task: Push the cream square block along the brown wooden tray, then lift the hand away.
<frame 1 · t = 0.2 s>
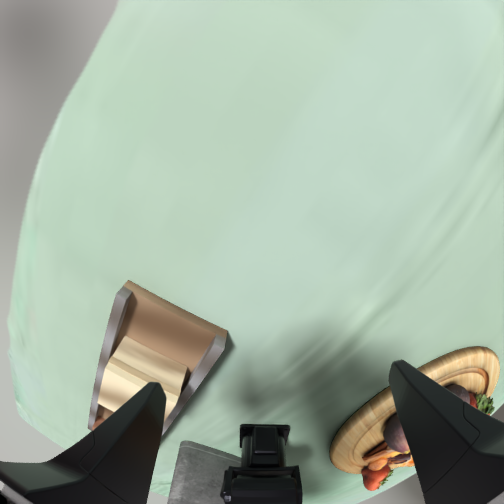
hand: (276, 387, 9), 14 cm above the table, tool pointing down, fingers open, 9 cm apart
flask: (222, 455, 35), on the table
cream square block: (140, 386, 24), point 4 cm above the table, slide at 0.0 cm
wooden plate with food: (420, 417, 33), on the table
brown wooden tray: (138, 389, 30), on the table
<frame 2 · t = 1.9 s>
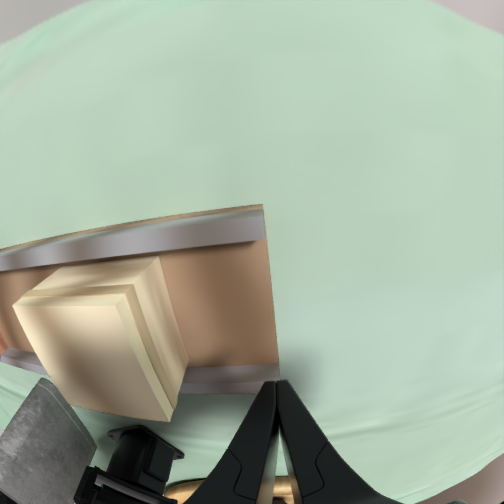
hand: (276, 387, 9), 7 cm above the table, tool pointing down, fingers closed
flask: (73, 418, 23), on the table
cream square block: (104, 339, 13), point 4 cm above the table, slide at 0.0 cm
wooden plate with food: (264, 502, 31), on the table
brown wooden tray: (65, 305, 17), on the table
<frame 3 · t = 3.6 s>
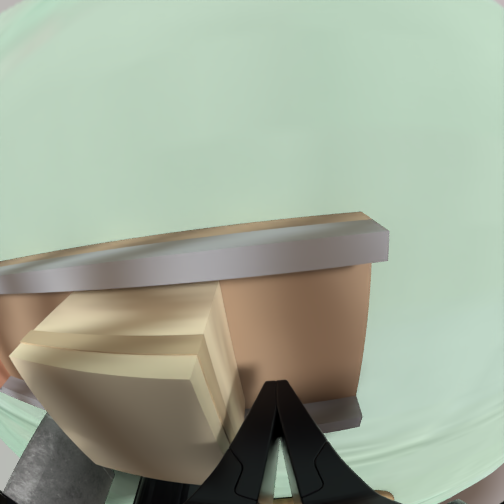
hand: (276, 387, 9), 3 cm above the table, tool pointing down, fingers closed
flask: (87, 447, 20), on the table
cream square block: (142, 392, 9), point 4 cm above the table, slide at 0.3 cm, touching gripper
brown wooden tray: (80, 336, 13), on the table
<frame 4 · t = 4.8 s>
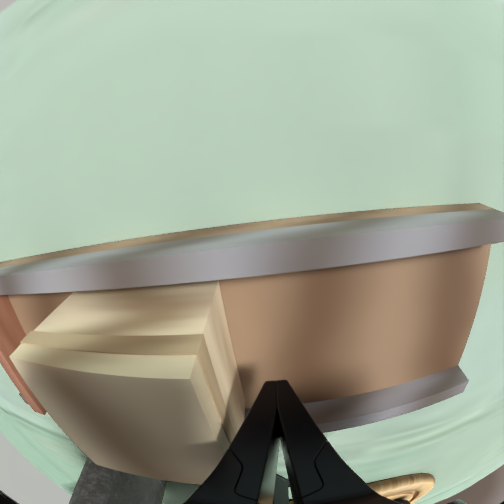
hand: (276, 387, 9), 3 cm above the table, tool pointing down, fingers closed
flask: (141, 461, 19), on the table
cream square block: (142, 392, 9), point 4 cm above the table, slide at 7.2 cm, touching gripper
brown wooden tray: (188, 337, 13), on the table
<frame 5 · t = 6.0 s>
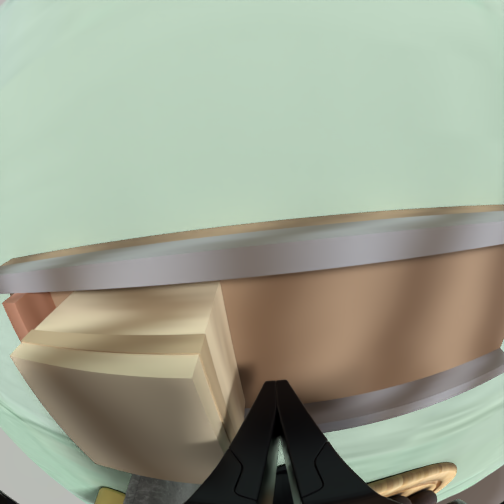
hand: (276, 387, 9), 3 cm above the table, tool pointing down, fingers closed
flask: (181, 467, 19), on the table
cream square block: (143, 392, 9), point 4 cm above the table, slide at 11.5 cm, touching gripper
tree log: (120, 494, 26), on the table
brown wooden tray: (279, 331, 13), on the table
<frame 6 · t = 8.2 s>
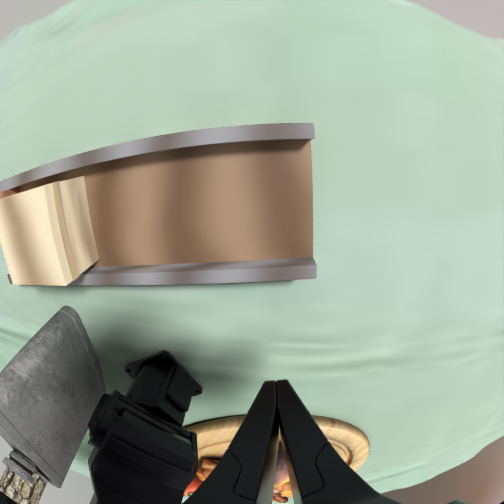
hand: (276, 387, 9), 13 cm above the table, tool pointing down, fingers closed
flask: (87, 356, 27), on the table
cream square block: (43, 231, 17), point 4 cm above the table, slide at 11.6 cm
tree log: (59, 415, 33), on the table
wooden plate with food: (266, 461, 34), on the table
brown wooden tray: (118, 212, 21), on the table
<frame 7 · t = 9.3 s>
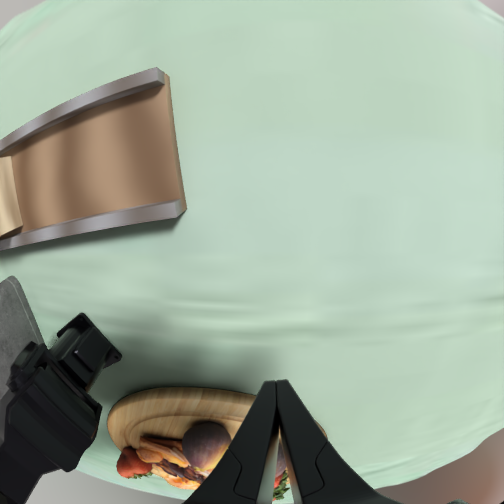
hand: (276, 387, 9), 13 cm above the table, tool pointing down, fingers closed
flask: (32, 326, 26), on the table
wooden plate with food: (216, 447, 33), on the table
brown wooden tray: (36, 182, 20), on the table
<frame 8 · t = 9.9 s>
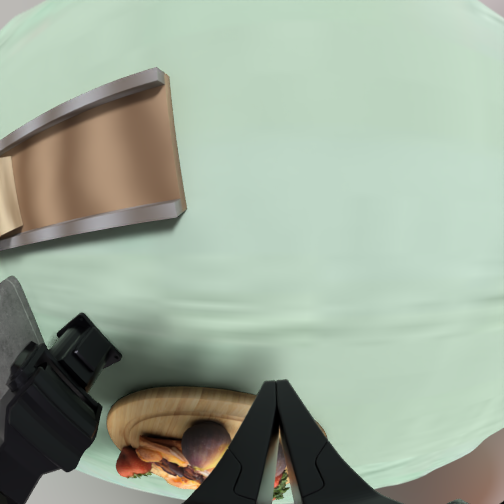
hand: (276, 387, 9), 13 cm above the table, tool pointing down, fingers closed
flask: (32, 326, 26), on the table
wooden plate with food: (215, 447, 33), on the table
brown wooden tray: (36, 182, 20), on the table
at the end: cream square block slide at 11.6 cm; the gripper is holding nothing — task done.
